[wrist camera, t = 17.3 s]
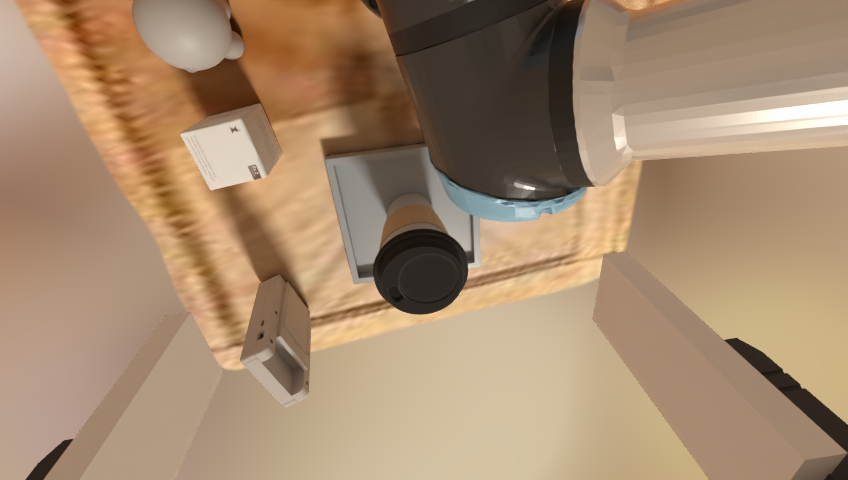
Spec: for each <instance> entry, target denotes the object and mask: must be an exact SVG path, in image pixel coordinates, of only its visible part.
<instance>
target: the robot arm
mask: <svg viewBox="0 0 848 480" xmlns="http://www.w3.org/2000/svg"><path fill="white" fill-rule="evenodd" d="M361 1H362V2H363V4H364V5H365V6H366V7H367V8H368V9H369V10H370V11H372V12H373V13H374V14H375V15H376V16H378V17H379V18H381V19H382V20H383V21H384V24H385V27H386V30H387V33H388V35H389V38H390V41H391V44H392V47H393V50H394V52H395V57H396V60H397V63H398V65H399V68H400V71H401V74H402V77H403V79H404V82H405V85H406V88H407V91H408V94H409V96H410V99H411V102H412V105H413V108H414V111H415V113H416V116H417V119H418V122H419V125H420V127H421V130H422V133H423V136H424V139H425V142H426V144H427V147H428V155H429V159H430V163H431V165H432V166H433V168H434V170H435V172H436V173H437V174H438V175H439V178H440V180H441V183H442V185H443V188H444V190H445V192H446V194H447V196H448V197H449V199H450V200H451V201H452V202H453V203H454V204H455V205H456V206H457V207H458V208H460V209H461V210H463V211H465V212H466V213H468V214H471V215H473V216H476V217H479V218H483V219H487V220H492V221H501V222H520V221H529V220H535V219H539V217H540V215H541V213H548V214H552V215H553V214H556V213H559V212H561V211H563V210H565V209H567V208H569V207H570V206H572V205H573V204H574V203H576V202H577V201H578V200H579V199H581V197H582V196H583V195H584V193H585V192H586V190H587V187H596V186H598V187H599V186H605V185H607V184H608V183H609V182H610V181H612V180H613V179H614V178H615V177H616V176H617V175H618V174H619V173H620V172H621V171H622V170H623V169H624V168H625V167H626V166H627V165H629V164H631V163H633V162H635V161H639V160H653V159H667V158H680V157H696V156H709V155H723V154H737V153H752V152H766V151H781V150H794V149H809V148H823V147H837V146H848V0H671V1H668V2H664V3H661V4H657V5H654V6H650V7H647V8H643V9H640V10H632V9H628V8H626V7H624V6H623V5H621V4H620V3H618V2H617V1H615V0H571V1H567V0H361ZM593 320H594V322H595V323H596V324H597V326H598V327H599V328H600V330H601V331H602V332H603V334H604V335H605V337H606V338H607V340H608V341H609V342H610V344H611V345H612V346H613V348H614V349H615V350H616V352H617V353H618V355H619V356H620V357H621V359H622V360H623V362H624V363H625V364H626V366H627V367H628V368H629V370H630V371H631V372H632V374H633V375H634V377H635V378H636V379H637V381H638V382H639V384H640V385H641V386H642V388H643V389H644V390H645V392H646V393H647V395H648V396H649V397H650V399H651V400H652V401H653V403H654V404H655V406H656V407H657V408H658V410H659V411H660V412H661V414H662V415H663V417H664V418H665V419H666V421H667V422H668V423H669V425H670V426H671V427H672V429H673V430H674V432H675V433H676V434H677V436H678V437H679V439H680V440H681V441H682V443H683V444H684V446H685V447H686V448H687V450H688V451H689V452H690V454H691V455H692V457H693V458H694V459H695V461H696V462H697V463H698V465H699V466H700V468H701V469H702V470H703V472H704V473H705V474H706V476H707V477H708V479H709V480H848V425H847V424H846V423H845V422H844V421H842V420H841V419H840V418H839V417H838V416H837V415H835V414H834V413H833V412H832V411H831V410H830V409H829V408H827V407H826V406H825V405H824V404H823V403H821V402H820V401H819V400H818V399H817V398H816V397H814V396H813V395H812V394H811V393H810V392H808V391H807V390H806V389H802V388H801V386H800V384H799V383H798V382H797V381H796V380H794V379H793V378H792V377H791V376H790V375H789V374H787V373H786V374H785V373H784V372H783V369H782V368H780V367H779V366H778V365H777V364H775V363H774V362H773V361H772V360H771V359H770V358H769V357H767V356H766V355H765V354H764V353H763V352H761V351H759V350H758V349H756V348H754V347H752V346H750V345H749V344H747V343H745V342H743V341H741V340H739V339H738V338H733V339H727V340H723V339H722V338H721V337H720V336H719V335H718V334H717V333H715V331H713V330H712V329H711V328H710V327H709V326H708V325H706V323H705V322H704V321H702V320H701V319H700V318H699V317H698V316H697V315H696V314H695V313H694V312H693V311H692V310H690V309H689V308H688V307H687V306H686V305H684V303H683V302H682V301H680V300H679V299H678V298H677V297H676V296H675V295H674V294H673V293H672V292H671V291H669V290H668V289H667V288H666V287H665V286H664V285H663V284H662V283H661V282H660V281H659V280H658V279H656V278H655V277H654V276H653V275H652V274H651V273H650V272H649V271H648V270H647V269H645V268H644V267H643V266H642V265H641V264H640V263H639V262H638V261H637V260H635V258H633V257H632V256H631V255H630V254H629V253H628V252H627V251H626V252H619V253H611V254H604V256H603V262H602V268H601V273H600V280H599V285H598V291H597V297H596V303H595V308H594V314H593ZM222 374H223V372H222V370H221V368H220V366H219V364H218V362H217V361H216V359H215V357H214V355H213V353H212V351H211V349H210V347H209V346H208V344H207V342H206V340H205V338H204V336H203V334H202V332H201V331H200V329H199V327H198V325H197V323H196V321H195V319H194V317H193V316H192V314H191V312H187V313H180V314H173V315H166V316H165V317H164V318H163V319H162V321H161V322H160V323H159V325H158V326H157V327H156V329H155V330H154V331H153V333H152V334H151V336H150V337H149V338H148V340H147V341H146V342H145V344H144V345H143V346H142V348H141V349H140V350H139V352H138V353H137V354H136V356H135V357H134V359H133V360H132V361H131V362H130V364H129V365H128V367H127V368H126V369H125V371H124V372H123V373H122V375H121V376H120V377H119V379H118V380H117V381H116V383H115V384H114V386H113V387H112V388H111V390H110V391H109V392H108V394H107V395H106V396H105V398H104V399H103V400H102V402H101V403H100V404H99V406H98V407H97V408H96V410H95V411H94V413H93V414H92V415H91V416H90V418H89V419H88V420H87V422H86V423H85V425H84V426H83V427H82V429H81V430H80V431H79V433H78V434H77V435H76V437H75V438H74V439H70V440H64V441H63V442H62V443H61V444H60V445H58V446H57V447H56V448H55V449H54V450H53V451H52V452H50V453H49V454H48V455H47V456H46V457H45V458H44V459H43V460H41V461H40V463H38V464H37V466H36V467H35V468H34V469H33V471H32V472H31V473H30V475H29V476H28V477H27V478H26V480H175V478H176V476H177V474H178V472H179V469H180V467H181V465H182V463H183V461H184V458H185V456H186V454H187V452H188V449H189V447H190V445H191V443H192V440H193V438H194V436H195V434H196V432H197V430H198V427H199V425H200V423H201V421H202V419H203V416H204V414H205V412H206V410H207V407H208V405H209V403H210V401H211V399H212V396H213V394H214V392H215V390H216V388H217V385H218V383H219V381H220V379H221V376H222Z"/></svg>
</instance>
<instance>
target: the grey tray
mask: <svg viewBox="0 0 848 480" xmlns="http://www.w3.org/2000/svg"><path fill="white" fill-rule="evenodd" d="M325 163H326V167H327V172H328V176H329V180H330V184H331V189H332V193H333V197H334V201H335V206H336V210H337V214H338V219H339V223H340V227H341V231H342V236H343V240H344V244H345V248H346V253H347V257H348V261H349V265H350V270H351V274H352V278H353V283H354V284H359V283H367V282H374V277H373V265H374V261H375V258H376V256H377V254H378V252H379V247H380V242H381V237H382V232H383V227H384V224H385V222H386V218H387V213H388V209H389V207H390V205H391V204H392V202H393V201H394V200H395V199H397V198H398V197H400V196H402V195H405V194H411V193H414V194H419V195H421V196H423V197H425V198H426V199H427V200H428V201H429V203H430V204H431V206H432V208H433V210H434V211H435V213H436V214H437V215H438V216H439V218H440V219H441V221H442V223H443V225H444V226H445V228H446V230H447V232H448V234H449V235H450V236H451V237H453V238H454V239H455V240H456V241H457V242H458V243H459V244H460V245H461V246H462V248H463V249H464V251H465V253H466V256H467V260H468V268H476V267H481V264H480V220H479V217H476V216H473V215H471V214H468V213H466V212H465V211H463V210H461V209H460V208H458V207H457V206H456V205H455V204H454V203H453V202H452V201H451V200H450V199H449V197H448V196H447V194H446V192H445V190H444V188H443V185H442V183H441V180H440V178H439V175H438V174H437V173H436V172H435V170H434V168H433V166H432V165H431V163H430V159H429V155H428V147H427V144H426V143H420V144H412V145H404V146H396V147H388V148H380V149H372V150H364V151H355V152H347V153H339V154H331V155H326V158H325Z"/></svg>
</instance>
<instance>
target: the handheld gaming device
mask: <svg viewBox="0 0 848 480" xmlns="http://www.w3.org/2000/svg"><path fill="white" fill-rule="evenodd" d="M310 342H311V321H310V311H309V310H308V308H307V307H306V306H305V304H304V303H303V302H302V300H301V299H300V297H299V296H298V295H297V293H296V292H295V291H294V289H293V288H292V286H291V285H290V284H289V282H285V281H284V280H283V278H282V277H281V275H277V276H275V277H272V278H270V279H268V280H266V281H264V282H261V283H260V284H259V287H258V291H257V295H256V299H255V303H254V306H253V310H252V314H251V318H250V322H249V326H248V330H247V334H246V338H245V342H244V346H243V350H242V354H241V358H240V361H241V362H242V364H243V365H244V366H245V367H246V368H247V369H248V370H249V371H250V372H251V373H252V374H253V375H254V376H255V377H256V378H257V379H258V380H259V381H260V382H261V384H262V385H263V386H264V387H265V388H266V389H267V390H268V391H269V392H270V393H271V394H272V395H273V396H274V397H275V398H276V399H277V400H278V401H279V403H280V404H281V405H282V406H283V407H288V406H290V405H292V404H294V403H296V402H298V401H300V400H302V399H304V398H306V397H307V395H308V392H309V370H310Z"/></svg>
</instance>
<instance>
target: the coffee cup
mask: <svg viewBox="0 0 848 480" xmlns="http://www.w3.org/2000/svg"><path fill="white" fill-rule="evenodd" d="M467 276H468V260H467V256H466V253H465V251H464V249H463V248H462V246H461V245H460V244H459V243H458V242H457V241H456V240H455V239H454V238H453V237H451V236H450V235H449V234H448V232H447V230H446V228H445V226H444V225H443V223H442V221H441V219H440V218H439V216H438V215H437V214H436V213H435V211H434V210H433V208H432V206H431V204H430V203H429V201H428V200H427V199H426V198H425V197H423V196H421V195H419V194H414V193H411V194H405V195H402V196H400V197H398V198H397V199H395V200H394V201H393V202H392V204H391V205H390V207H389V209H388V213H387V218H386V222H385V224H384V227H383V232H382V237H381V242H380V247H379V252H378V254H377V256H376V258H375V261H374V265H373V277H374V281H375V284H376V287H377V289H378V291H379V293H380V294H381V296H382V297H383V298H384V299H385V300H386V301H388V302H389V303H390V304H391V305H393V306H394V307H395V308H397V309H399V310H401V311H403V312H406V313H410V314H429V313H434V312H437V311H439V310H441V309H443V308H445V307H447V306H448V305H450V304H451V303H452V302H453V301H454V300H455V299H456V298H457V296H458V295H459V293H460V292H461V290H462V289H463V287H464V285H465V283H466V280H467Z"/></svg>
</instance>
